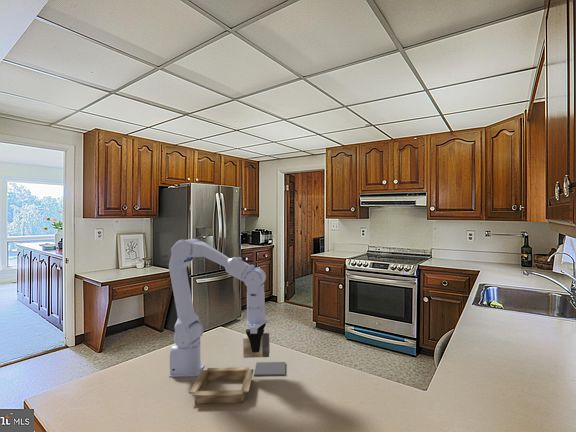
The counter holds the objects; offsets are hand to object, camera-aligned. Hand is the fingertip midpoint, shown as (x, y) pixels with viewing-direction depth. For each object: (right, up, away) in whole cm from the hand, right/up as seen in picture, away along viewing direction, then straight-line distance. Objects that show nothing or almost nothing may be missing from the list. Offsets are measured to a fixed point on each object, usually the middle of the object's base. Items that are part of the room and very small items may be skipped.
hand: (256, 348), depth 103 cm
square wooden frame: (-9, -8, -9) cm, 15 cm away
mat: (+4, -9, +4) cm, 10 cm away
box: (0, -2, 0) cm, 2 cm away
